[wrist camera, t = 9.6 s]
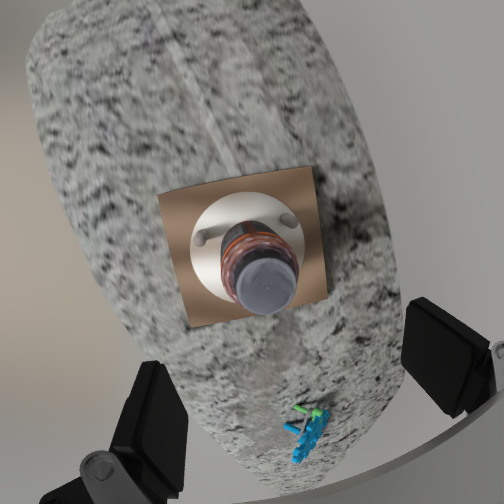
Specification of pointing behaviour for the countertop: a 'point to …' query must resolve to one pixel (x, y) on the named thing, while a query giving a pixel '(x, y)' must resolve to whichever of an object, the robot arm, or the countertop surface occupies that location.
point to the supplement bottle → (258, 268)
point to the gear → (308, 431)
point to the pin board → (227, 215)
